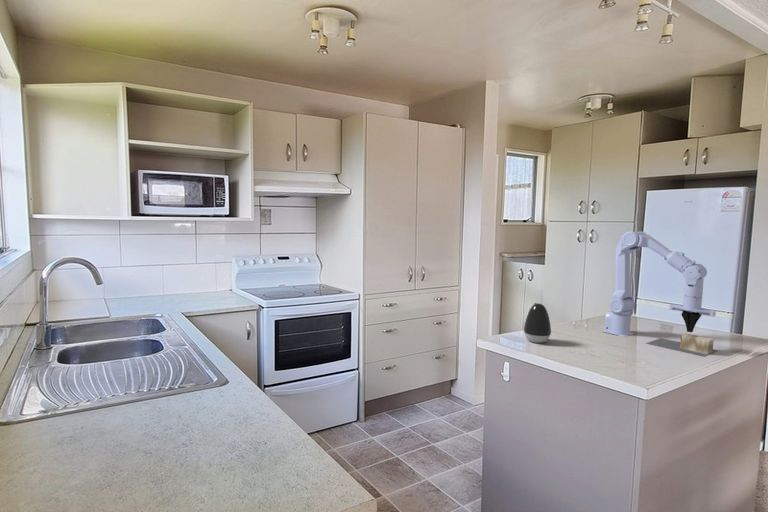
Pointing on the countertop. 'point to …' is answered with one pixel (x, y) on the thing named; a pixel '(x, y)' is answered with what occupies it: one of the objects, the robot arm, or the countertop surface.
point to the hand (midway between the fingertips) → (689, 331)
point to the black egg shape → (537, 324)
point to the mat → (675, 346)
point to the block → (696, 343)
